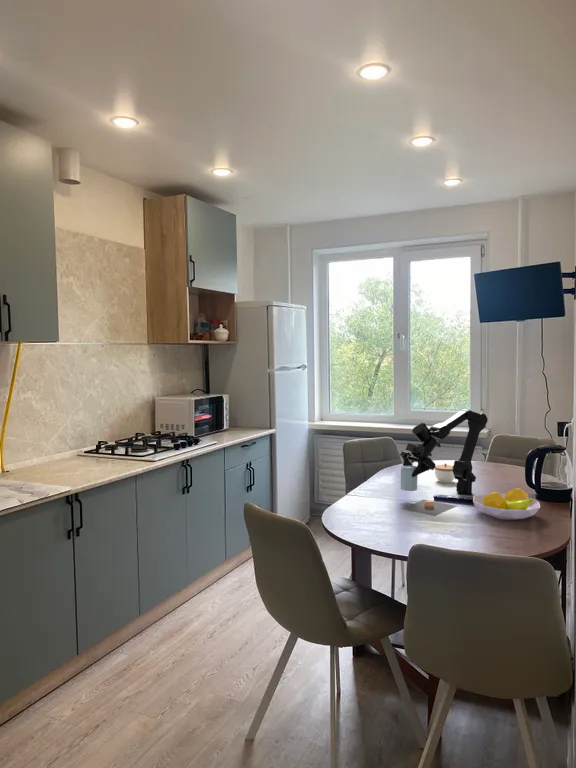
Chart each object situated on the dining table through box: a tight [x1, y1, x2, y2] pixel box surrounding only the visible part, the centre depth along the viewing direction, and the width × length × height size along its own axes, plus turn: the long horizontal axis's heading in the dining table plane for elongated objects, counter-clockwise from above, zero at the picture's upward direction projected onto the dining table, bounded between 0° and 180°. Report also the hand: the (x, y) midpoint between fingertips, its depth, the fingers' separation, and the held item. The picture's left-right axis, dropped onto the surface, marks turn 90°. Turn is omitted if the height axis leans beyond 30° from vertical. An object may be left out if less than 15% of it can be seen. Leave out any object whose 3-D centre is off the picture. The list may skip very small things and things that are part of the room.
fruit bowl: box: [472, 487, 541, 520], centre depth 238 cm, size 28×27×11 cm
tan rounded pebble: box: [424, 499, 435, 509], centre depth 249 cm, size 4×4×2 cm
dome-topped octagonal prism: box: [400, 464, 418, 492], centre depth 259 cm, size 7×7×10 cm
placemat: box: [400, 499, 457, 517], centre depth 249 cm, size 20×16×1 cm
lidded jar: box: [434, 463, 455, 484], centre depth 298 cm, size 11×11×9 cm
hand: (406, 474), depth 258 cm, fingers closed on dome-topped octagonal prism, 7 cm apart
